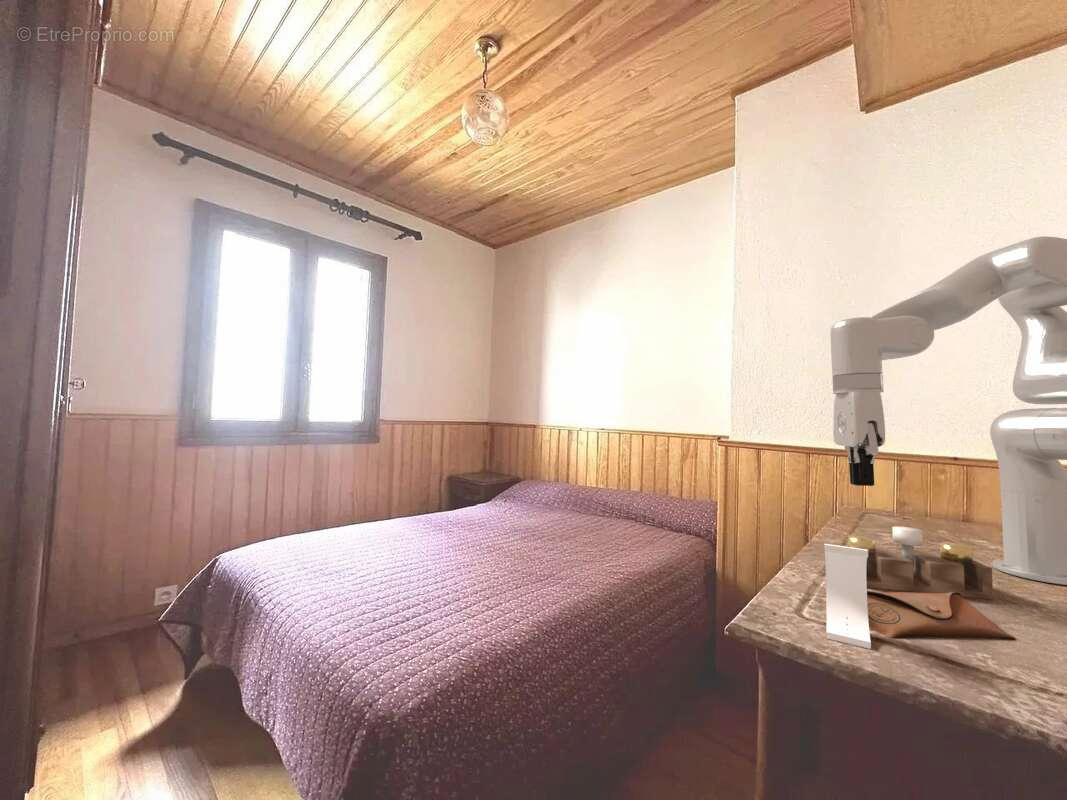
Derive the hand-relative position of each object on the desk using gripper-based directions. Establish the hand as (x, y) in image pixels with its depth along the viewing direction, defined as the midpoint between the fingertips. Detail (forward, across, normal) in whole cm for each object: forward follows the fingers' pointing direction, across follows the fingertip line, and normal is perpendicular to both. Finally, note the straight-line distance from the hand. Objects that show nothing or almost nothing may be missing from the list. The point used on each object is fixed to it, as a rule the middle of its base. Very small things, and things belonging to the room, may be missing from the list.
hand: (862, 484), depth 79 cm
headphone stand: (+17, +25, -12) cm, 33 cm away
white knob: (+14, 0, +6) cm, 15 cm away
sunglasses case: (+18, +19, 0) cm, 26 cm away
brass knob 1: (+16, 0, -1) cm, 16 cm away
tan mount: (+17, 0, +6) cm, 18 cm away
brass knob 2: (+16, 0, +13) cm, 21 cm away
